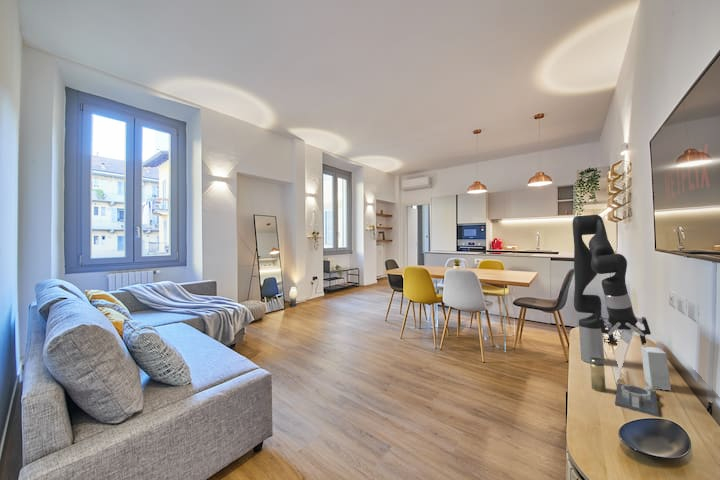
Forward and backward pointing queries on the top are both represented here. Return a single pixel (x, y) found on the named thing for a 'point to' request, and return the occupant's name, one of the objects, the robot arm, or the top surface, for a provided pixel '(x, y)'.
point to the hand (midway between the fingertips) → (627, 343)
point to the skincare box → (655, 368)
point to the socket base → (637, 398)
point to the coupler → (597, 374)
